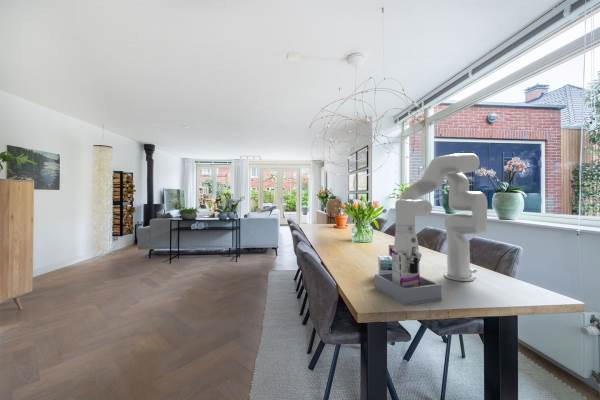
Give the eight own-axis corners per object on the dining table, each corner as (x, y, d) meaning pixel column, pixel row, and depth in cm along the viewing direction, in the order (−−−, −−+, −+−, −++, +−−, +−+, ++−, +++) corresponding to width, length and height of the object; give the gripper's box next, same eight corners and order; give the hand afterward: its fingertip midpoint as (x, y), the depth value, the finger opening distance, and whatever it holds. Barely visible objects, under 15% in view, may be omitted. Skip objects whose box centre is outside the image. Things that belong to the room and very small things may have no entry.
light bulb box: (395, 283, 120) (394, 260, 120) (380, 282, 122) (380, 259, 122) (391, 276, 131) (391, 255, 131) (378, 275, 132) (377, 254, 132)
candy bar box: (410, 286, 112) (410, 249, 112) (420, 290, 107) (419, 251, 107) (391, 291, 107) (390, 252, 107) (400, 295, 103) (400, 254, 102)
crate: (407, 283, 119) (406, 270, 119) (441, 300, 100) (441, 284, 100) (374, 287, 114) (374, 274, 114) (404, 305, 95) (404, 289, 95)
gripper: (428, 231, 99) (428, 275, 100) (399, 226, 116) (400, 264, 116) (411, 232, 97) (412, 276, 98) (385, 227, 114) (385, 265, 114)
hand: (405, 269), depth 107 cm, fingers open, 9 cm apart
